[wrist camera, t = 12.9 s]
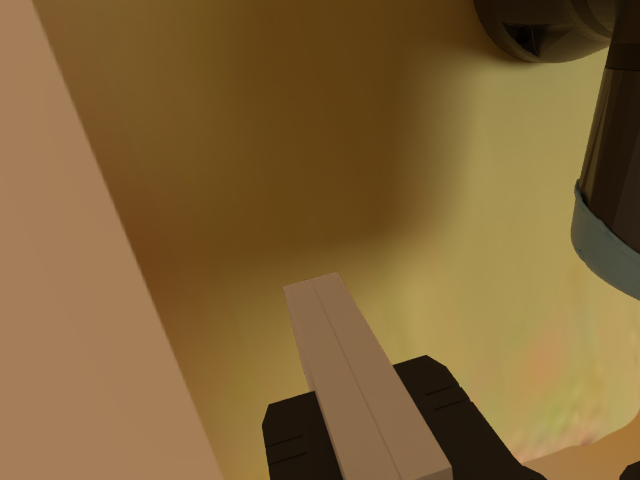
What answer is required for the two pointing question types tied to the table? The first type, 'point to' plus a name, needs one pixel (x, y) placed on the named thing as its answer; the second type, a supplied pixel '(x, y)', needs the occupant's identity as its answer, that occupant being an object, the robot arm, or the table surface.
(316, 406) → the robot arm
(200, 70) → the table surface
